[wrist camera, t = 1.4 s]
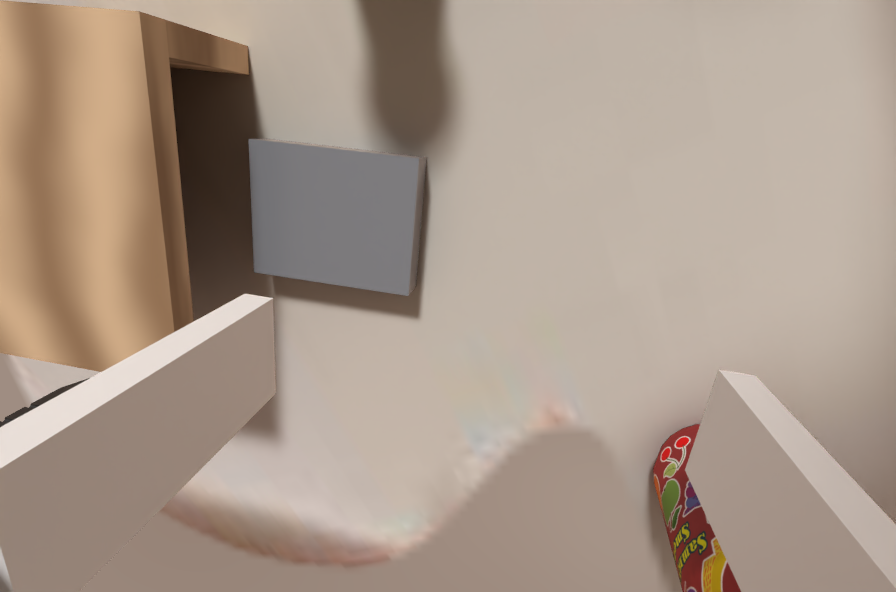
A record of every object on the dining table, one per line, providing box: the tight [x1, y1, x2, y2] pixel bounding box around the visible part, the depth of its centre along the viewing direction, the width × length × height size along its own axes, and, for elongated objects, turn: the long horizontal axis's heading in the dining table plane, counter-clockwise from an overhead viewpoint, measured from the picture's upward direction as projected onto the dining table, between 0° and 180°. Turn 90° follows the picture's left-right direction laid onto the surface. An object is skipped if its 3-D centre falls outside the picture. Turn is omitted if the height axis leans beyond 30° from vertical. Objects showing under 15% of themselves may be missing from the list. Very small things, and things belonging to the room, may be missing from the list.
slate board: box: [249, 139, 427, 296], centre depth 29 cm, size 10×8×2 cm
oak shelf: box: [0, 1, 249, 372], centre depth 27 cm, size 12×18×8 cm, turn 174°
